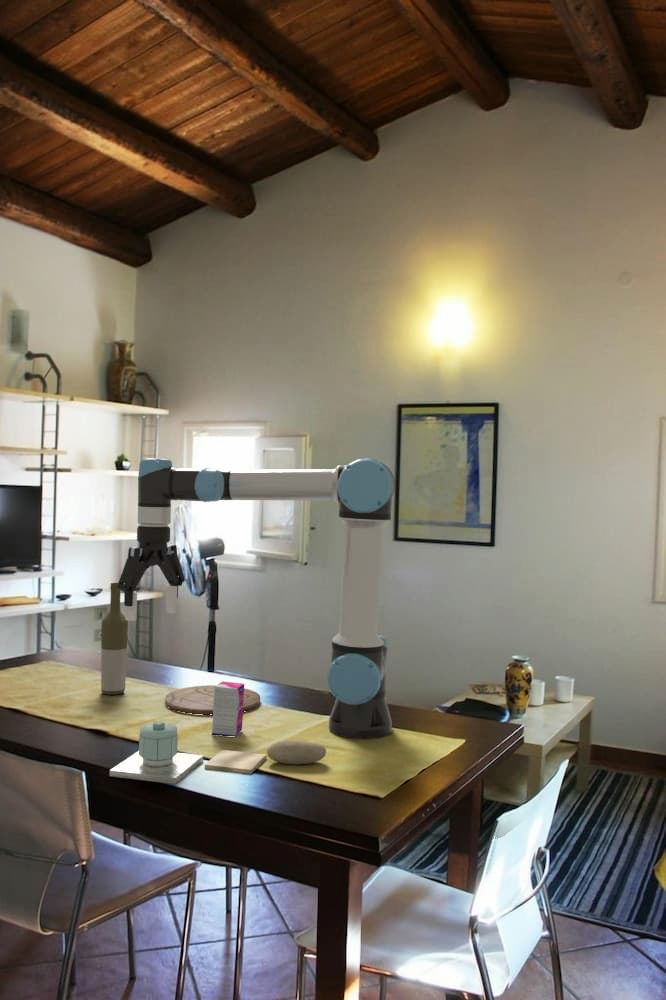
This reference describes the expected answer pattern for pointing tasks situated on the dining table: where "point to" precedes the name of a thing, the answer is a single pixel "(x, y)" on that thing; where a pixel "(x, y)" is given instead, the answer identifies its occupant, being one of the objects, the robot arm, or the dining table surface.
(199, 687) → the trivet
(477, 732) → the dining table surface
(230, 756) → the coaster
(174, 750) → the cap
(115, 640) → the bottle
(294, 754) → the stone
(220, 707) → the supplement box
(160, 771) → the post
